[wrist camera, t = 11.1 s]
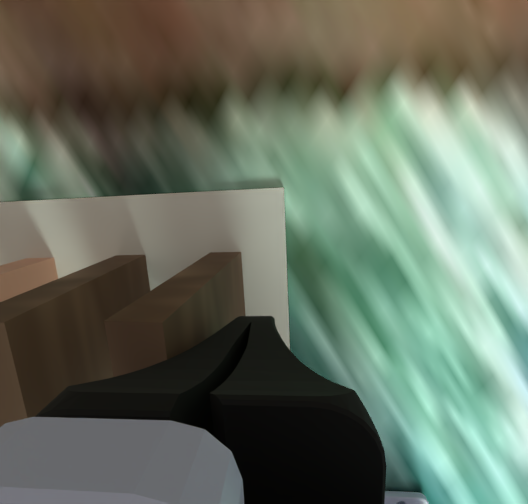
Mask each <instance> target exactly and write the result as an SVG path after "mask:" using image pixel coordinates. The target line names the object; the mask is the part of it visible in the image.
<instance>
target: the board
mask: <svg viewBox="0 0 528 504" xmlns="http://www.w3.org/2000/svg"><path fill="white" fill-rule="evenodd" d="M210 252H241V257H242V272H243V286H244V301H245V315H246V316H272V317H273V318H274V319H275V326H276V328H277V331H278V333H279V334H280V336H281V338H282V340H283V341H284V343H285V344H286V346H287V347H288V348H289V350H290V335H289V308H288V282H287V255H286V228H285V202H284V187H281V188H262V189H243V190H223V191H204V192H185V193H166V194H147V195H127V196H108V197H89V198H70V199H50V200H31V201H12V202H0V266H1V265H4V264H8V263H11V262H15V261H18V260H22V259H25V258H54V260H55V265H56V270H57V275H58V279H59V278H61V277H64V276H66V275H69V274H71V273H74V272H76V271H79V270H81V269H84V268H86V267H88V266H91V265H93V264H96V263H98V262H101V261H103V260H106V259H108V258H111V257H113V256H116V255H145V256H146V263H147V270H148V278H149V285H150V291H151V290H153V289H154V288H156V287H157V286H159V285H160V284H162V283H164V282H165V281H167V280H168V279H170V278H171V277H173V276H174V275H176V274H177V273H179V272H181V271H182V270H184V269H185V268H187V267H188V266H190V265H191V264H193V263H195V262H196V261H198V260H199V259H201V258H202V257H204V256H205V255H207V254H208V253H210Z"/></svg>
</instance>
